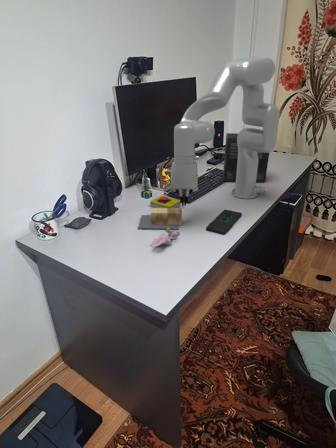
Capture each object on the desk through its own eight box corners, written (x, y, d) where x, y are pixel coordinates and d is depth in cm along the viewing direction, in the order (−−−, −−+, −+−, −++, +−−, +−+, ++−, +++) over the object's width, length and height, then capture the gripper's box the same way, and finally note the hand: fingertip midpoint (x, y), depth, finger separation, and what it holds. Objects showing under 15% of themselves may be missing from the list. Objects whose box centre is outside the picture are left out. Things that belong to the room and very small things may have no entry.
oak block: (181, 208, 126) (152, 207, 126) (181, 213, 121) (151, 213, 122) (181, 219, 128) (152, 218, 129) (181, 224, 123) (151, 224, 124)
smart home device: (242, 212, 131) (225, 232, 116) (242, 216, 132) (224, 236, 116) (224, 208, 135) (204, 227, 120) (224, 212, 136) (204, 231, 120)
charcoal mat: (179, 216, 131) (179, 215, 131) (178, 230, 121) (178, 228, 120) (141, 216, 132) (141, 214, 132) (137, 229, 122) (137, 228, 121)
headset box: (262, 176, 177) (268, 129, 165) (266, 183, 166) (272, 134, 154) (222, 175, 179) (225, 129, 167) (223, 182, 168) (227, 134, 157)
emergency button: (159, 192, 147) (185, 198, 139) (159, 200, 149) (185, 207, 141) (146, 198, 140) (173, 205, 132) (147, 207, 142) (173, 214, 134)
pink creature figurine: (169, 236, 120) (146, 247, 107) (170, 221, 118) (147, 231, 105) (183, 240, 117) (161, 252, 104) (184, 225, 115) (162, 236, 102)
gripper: (204, 156, 117) (202, 201, 125) (164, 156, 117) (165, 200, 126) (205, 161, 110) (203, 208, 118) (163, 161, 111) (164, 208, 119)
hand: (184, 204), depth 122 cm, fingers closed
